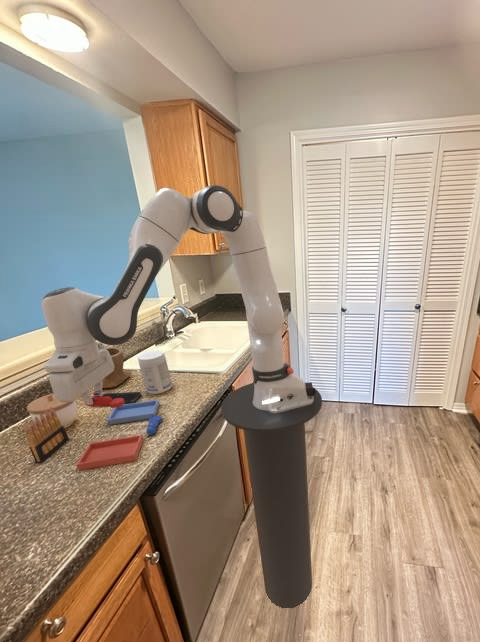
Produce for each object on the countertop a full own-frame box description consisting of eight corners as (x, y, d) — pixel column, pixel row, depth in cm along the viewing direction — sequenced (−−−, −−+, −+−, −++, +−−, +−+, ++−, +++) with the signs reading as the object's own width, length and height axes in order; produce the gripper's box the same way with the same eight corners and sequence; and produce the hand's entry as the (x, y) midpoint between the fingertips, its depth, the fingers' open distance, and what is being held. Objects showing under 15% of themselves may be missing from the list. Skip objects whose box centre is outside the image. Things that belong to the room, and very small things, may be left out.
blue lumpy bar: (144, 437, 97) (142, 430, 96) (151, 419, 107) (149, 413, 106) (157, 435, 98) (155, 428, 97) (162, 418, 107) (161, 411, 106)
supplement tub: (169, 381, 134) (161, 348, 128) (175, 389, 127) (167, 354, 121) (144, 388, 129) (135, 354, 123) (149, 397, 122) (139, 361, 116)
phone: (131, 401, 116) (90, 403, 117) (132, 404, 117) (91, 406, 117) (141, 391, 124) (103, 393, 124) (142, 394, 124) (103, 395, 124)
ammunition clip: (41, 462, 89) (25, 425, 84) (35, 462, 89) (18, 425, 84) (69, 439, 98) (55, 405, 94) (63, 439, 99) (49, 405, 94)
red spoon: (91, 402, 91) (88, 394, 90) (127, 401, 91) (124, 393, 90) (83, 409, 88) (80, 400, 87) (120, 407, 87) (118, 399, 86)
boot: (120, 390, 128) (109, 355, 123) (92, 390, 130) (80, 355, 124) (140, 374, 142) (131, 342, 136) (114, 374, 143) (105, 342, 137)
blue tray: (159, 404, 116) (158, 399, 116) (154, 418, 108) (153, 413, 107) (117, 410, 114) (115, 405, 113) (108, 425, 105) (107, 420, 104)
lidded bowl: (89, 412, 113) (79, 384, 109) (73, 432, 102) (62, 401, 97) (48, 417, 111) (37, 389, 107) (29, 439, 100) (14, 408, 95)
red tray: (143, 439, 96) (142, 434, 96) (136, 460, 88) (134, 454, 87) (91, 448, 94) (89, 442, 93) (78, 470, 85) (76, 464, 84)
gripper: (91, 340, 93) (104, 383, 98) (38, 368, 74) (58, 420, 79) (112, 339, 93) (125, 383, 98) (65, 367, 74) (84, 419, 79)
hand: (95, 400), depth 89 cm, fingers closed on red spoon, 2 cm apart
